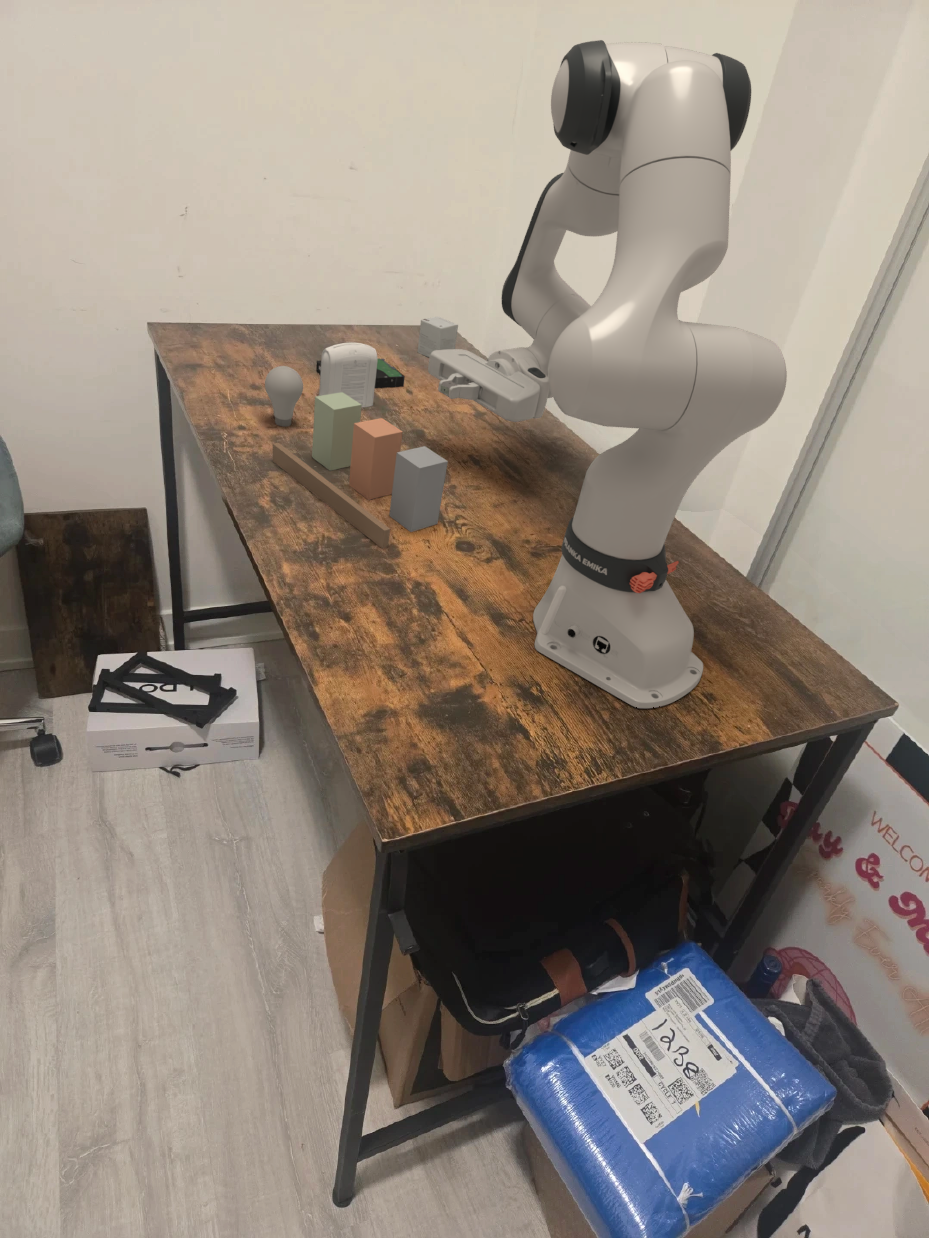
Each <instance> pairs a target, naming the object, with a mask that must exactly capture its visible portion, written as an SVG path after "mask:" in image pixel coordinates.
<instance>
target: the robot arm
mask: <svg viewBox="0 0 929 1238" xmlns="http://www.w3.org/2000/svg"><path fill="white" fill-rule="evenodd" d="M749 75H750V74H749V72H748V69H747V67H746V66H745V64H744V63H742V61H740V60H738V59H736V58H733V57H731V56H728V55H726V54H722V53H718V52H715V53H713V54H711V55H710V54H708V53H705V52H700V51H697V50H692V49H688V48H682V47H676V46H668V45H664V44H662V43H657V42H648V41H647V42H640V41H639V42H637V41H634V42H633V41H631V42H627V41H626V42H625V41H624V42H614V43H613V42H611V43H606V42H605V41H604V40H602V39H599V40H591V41H585V42H580V43H578V44H575V45H573V46H572V47H571V49H570V50H569V51H568V52H567V53H566V54H565V55H564V56H563V58H562V59H561V61H560V66H559V69H558V71H557V73H556V75H555V78H554V81H553V86H552V89H551V95H550V112H551V113H550V114H551V117H552V123H553V124H552V125H553V130H554V134H555V137H556V138H557V139H558V141H559V143H560V144H561V145H562V147H564V148H566V149H568V150H570V152H569V156H568V160H567V164H566V167H565V169H564V172H562V173H559V174H557V175H555V176H554V177H553V178H551V179H550V181H548V183H547V184H546V186H545V187H544V188H543V190H542V192H541V194H540V196H539V198H538V200H537V203H536V206H535V207H534V211H533V213H532V215H531V219H530V221H529V224H528V226H527V230H526V232H525V235H524V238H523V240H522V244H521V246H520V249H519V252H518V256H517V257H516V261H515V263H514V265H513V267H512V268H511V270H510V272H509V274H508V275H507V276H506V279H505V280H504V283H503V285H502V290H501V308H502V310H503V313H504V314H505V315H506V316H508V318H510V319H511V320H512V321H513V322H514V323H516V324H517V325H518V326H520V327H521V328H522V329H523V330H524V331H525V332H526V333H527V334H528V335H529V336H530V337H531V338H532V339H533V340H532V343H531V344H530V345H529V346H527V347H523V346H522V347H519V346H518V347H515V348H514V347H513V348H508V349H506V348H505V349H502V350H501V349H500V350H496V351H494V352H492V353H491V354H489V356H488V357H487V359H484V358H483V357H480V356H479V355H478V354H475V353H474V352H472V351H469V350H467V349H461V348H455V349H445V350H435V351H433V352H432V353H431V355H430V358H429V360H428V367H427V372H428V374H429V375H431V376H432V377H434V378H436V379H438V380H439V383H438V389H437V391H438V392H440V393H441V394H443V395H444V396H446V397H447V398H448V399H451V400H453V399H463V400H471V401H474V402H475V403H477V404H479V405H480V406H482V407H484V408H485V409H487V410H489V411H490V412H491V413H493V414H495V415H497V416H498V417H501V418H502V419H503V420H505V421H507V422H512V423H513V422H514V423H517V422H518V423H519V422H523V421H528V420H531V419H540V418H542V417H543V415H544V412H545V409H546V405H547V402H548V399H551V398H553V401H554V402H555V404H556V405H557V407H558V409H560V411H561V412H562V413H563V414H564V415H566V416H568V417H570V418H571V417H572V418H575V419H578V420H581V421H583V422H587V423H590V424H594V425H598V426H602V427H608V428H623V429H624V428H626V429H627V428H628V429H637V430H636V431H635V432H633V434H632V435H631V436H630V437H628V438H627V439H625V440H624V441H622V442H620V443H618V444H616V445H614V446H613V447H610V448H608V449H606V450H604V451H603V452H601V453H600V454H599V455H597V457H595V458H594V459H593V461H592V462H591V464H590V465H588V468H587V470H586V472H585V475H584V476H585V477H584V479H583V483H582V486H581V491H580V494H579V497H578V500H577V504H576V508H575V510H574V511H575V512H574V515H573V516H572V517H571V518H570V519H569V521H568V524H567V526H566V529H565V534H564V536H563V541H562V542H561V547H560V548H561V557H560V559H559V563H558V564H557V568H556V570H555V572H554V574H553V577H552V579H551V581H550V584H549V586H548V588H547V589H546V591H545V593H544V594H543V596H542V598H541V600H540V601H539V602H538V604H537V605H536V606H535V608H534V611H533V615H532V618H533V619H532V620H533V624H534V627H535V631H536V637H535V641H534V648H535V650H536V651H537V652H539V653H541V654H542V655H544V656H546V657H547V658H549V659H551V660H553V662H556V663H558V664H560V665H561V666H562V667H565V668H566V669H568V670H570V671H571V672H573V673H575V674H576V675H578V676H580V677H582V678H583V679H585V680H587V681H589V682H590V683H592V684H593V685H595V686H597V687H599V688H601V689H602V690H604V691H606V692H608V693H610V694H611V695H612V696H614V697H616V698H618V699H620V700H622V701H623V702H625V703H627V704H629V705H630V706H632V707H634V708H636V707H637V709H653V707H654V708H659V706H660V707H664V706H667V705H669V704H672V703H674V702H675V701H677V700H679V699H682V698H683V697H684V696H686V695H687V694H689V693H690V692H692V690H693V689H695V688H696V686H697V685H698V684H699V682H700V680H701V677H702V675H703V672H704V663H703V661H702V660H701V659H700V658H699V657H698V656H697V655H696V654H695V653H693V652H692V648H693V644H694V636H695V632H694V626H693V625H694V624H693V623H692V621H691V620H690V618H689V616H688V614H687V613H686V612H685V610H684V608H683V606H682V605H681V603H680V602H679V599H678V598H677V596H676V594H675V593H674V591H673V589H672V587H671V585H670V584H669V582H668V581H667V575H669V574H671V573H673V572H674V571H676V570H677V565H678V564H679V563H680V562H679V560H675V561H674V562H671V563H669V564H667V554H666V544H665V542H666V540H667V537H668V534H669V532H670V529H671V527H672V525H673V522H674V519H675V517H676V515H677V512H678V510H679V508H680V506H681V503H682V501H683V499H684V497H685V495H686V493H687V492H688V491H689V488H690V487H691V485H692V484H693V482H694V481H695V480H696V478H697V477H698V476H699V475H700V473H701V472H702V471H703V470H704V469H705V468H706V467H707V466H708V465H709V464H710V462H712V461H713V459H714V458H715V457H716V456H718V455H719V454H720V453H721V452H722V451H723V450H724V449H725V448H726V447H728V446H729V445H730V444H731V443H733V442H734V441H736V440H738V439H739V438H740V437H741V436H743V435H745V434H747V433H749V432H751V431H753V430H756V429H757V428H759V427H761V426H763V425H764V424H765V423H766V422H767V421H768V420H769V419H770V418H772V416H773V415H774V413H775V412H776V411H777V409H778V407H779V406H780V403H781V402H782V399H783V398H784V394H785V390H786V385H787V381H788V380H787V377H788V375H787V374H788V372H787V366H786V360H785V357H784V355H783V352H782V351H781V349H780V347H779V346H778V344H777V343H776V342H775V341H773V340H771V339H769V338H767V337H764V336H762V335H758V334H757V333H753V332H751V331H748V330H745V329H742V328H739V327H736V326H731V325H730V326H727V325H718V324H711V323H710V324H709V323H708V324H707V323H702V322H701V323H700V322H699V323H698V322H691V321H683V320H680V319H679V317H678V315H679V314H678V307H679V306H678V305H679V301H680V297H681V293H683V292H686V291H687V290H690V289H692V288H693V287H695V286H697V285H700V283H703V282H704V281H706V280H707V279H708V278H709V277H711V276H712V275H713V274H714V273H716V271H717V270H718V269H719V267H720V266H721V264H722V262H723V260H724V258H725V257H726V254H727V251H728V248H729V232H730V231H729V230H730V228H729V227H730V226H729V225H730V205H731V204H730V200H731V172H732V171H731V170H732V168H731V165H732V162H731V161H732V160H731V159H732V156H731V153H732V151H733V149H734V148H735V147H736V146H737V145H738V144H739V142H740V140H741V137H742V136H743V132H744V131H745V128H746V125H747V121H748V117H749V113H750V109H751V101H752V84H751V83H752V82H751V78H750V76H749ZM567 231H568V232H570V233H573V234H576V235H580V236H583V237H602V236H604V237H605V236H608V235H612V234H614V233H616V234H617V235H616V242H615V254H614V259H613V264H612V268H611V271H610V274H609V277H608V279H607V281H606V283H605V286H604V288H603V289H602V291H601V293H600V295H599V296H598V298H597V299H596V300H595V301H594V302H593V303H592V305H590V304H589V303H588V302H587V301H586V300H585V298H583V297H582V296H581V295H580V294H578V293H577V291H575V290H574V289H573V288H572V287H571V286H570V285H569V283H567V282H566V281H565V280H564V279H563V278H562V276H561V275H560V274H559V272H558V270H557V268H556V264H555V260H556V259H555V258H556V256H557V255H558V253H559V252H558V251H559V249H560V246H561V244H562V242H563V239H564V237H565V235H566V232H567Z"/></svg>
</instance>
